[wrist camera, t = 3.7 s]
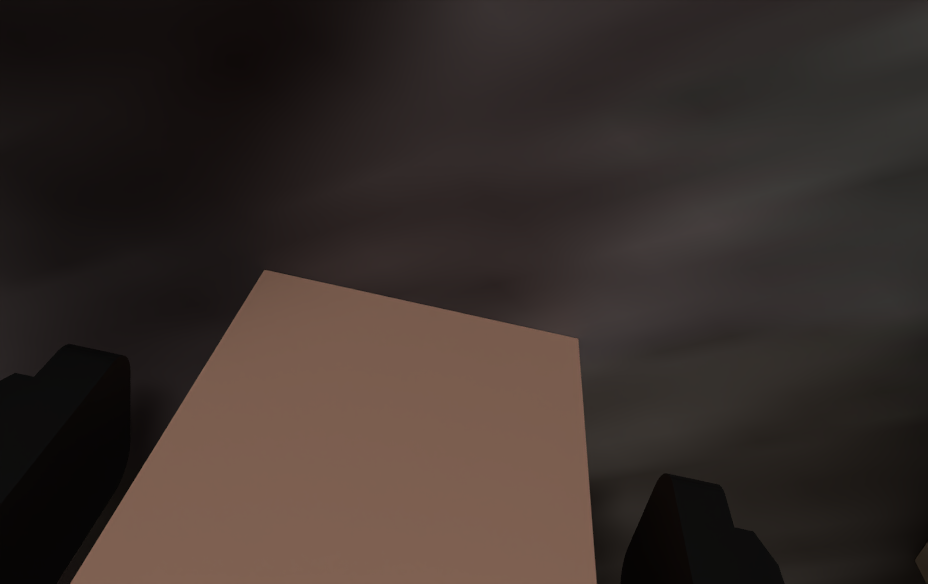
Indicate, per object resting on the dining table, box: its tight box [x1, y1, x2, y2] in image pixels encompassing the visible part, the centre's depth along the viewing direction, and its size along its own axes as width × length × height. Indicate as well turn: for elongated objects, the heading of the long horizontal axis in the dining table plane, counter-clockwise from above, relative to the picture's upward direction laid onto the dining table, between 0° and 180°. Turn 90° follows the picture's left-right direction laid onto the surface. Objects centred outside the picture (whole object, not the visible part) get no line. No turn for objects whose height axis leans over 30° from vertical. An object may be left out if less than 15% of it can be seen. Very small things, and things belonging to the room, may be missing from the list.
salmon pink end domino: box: [70, 270, 597, 584], centre depth 9 cm, size 2×5×9 cm, turn 78°
